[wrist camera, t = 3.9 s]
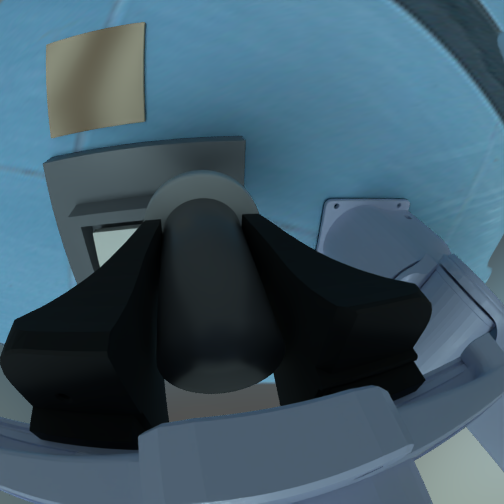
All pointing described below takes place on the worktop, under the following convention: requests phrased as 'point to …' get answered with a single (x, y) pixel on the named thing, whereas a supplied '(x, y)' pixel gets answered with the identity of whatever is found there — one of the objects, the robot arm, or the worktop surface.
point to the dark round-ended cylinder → (210, 288)
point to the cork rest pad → (96, 79)
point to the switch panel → (125, 186)
